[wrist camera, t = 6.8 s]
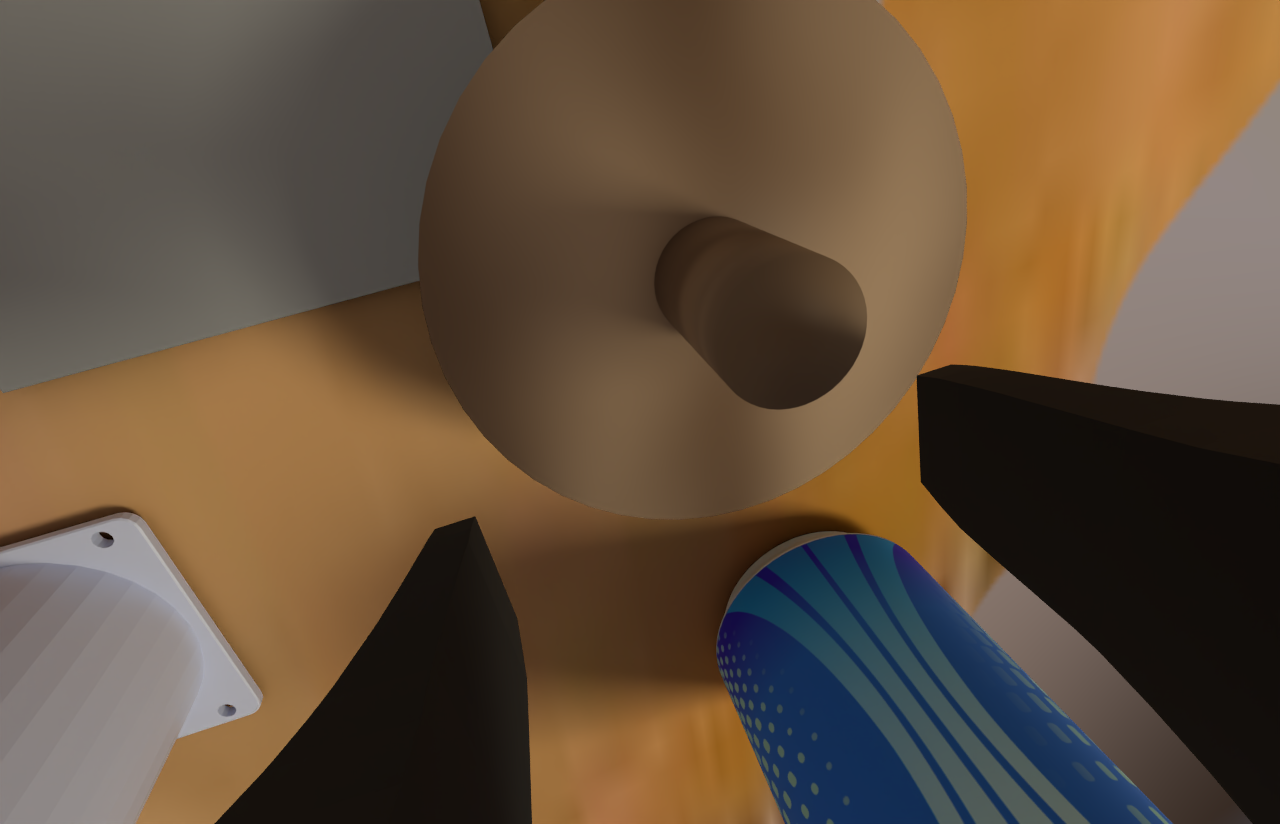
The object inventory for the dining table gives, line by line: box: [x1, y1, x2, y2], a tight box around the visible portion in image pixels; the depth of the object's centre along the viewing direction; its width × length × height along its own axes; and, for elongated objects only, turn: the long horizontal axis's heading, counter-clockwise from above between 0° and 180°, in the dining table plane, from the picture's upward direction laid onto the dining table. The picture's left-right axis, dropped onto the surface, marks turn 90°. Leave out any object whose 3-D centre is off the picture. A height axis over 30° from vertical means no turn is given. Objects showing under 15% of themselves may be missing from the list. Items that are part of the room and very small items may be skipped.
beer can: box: [716, 531, 1173, 824], centre depth 19 cm, size 8×8×16 cm
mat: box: [0, 0, 493, 393], centre depth 14 cm, size 14×14×1 cm
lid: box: [418, 0, 967, 519], centre depth 13 cm, size 12×12×5 cm
